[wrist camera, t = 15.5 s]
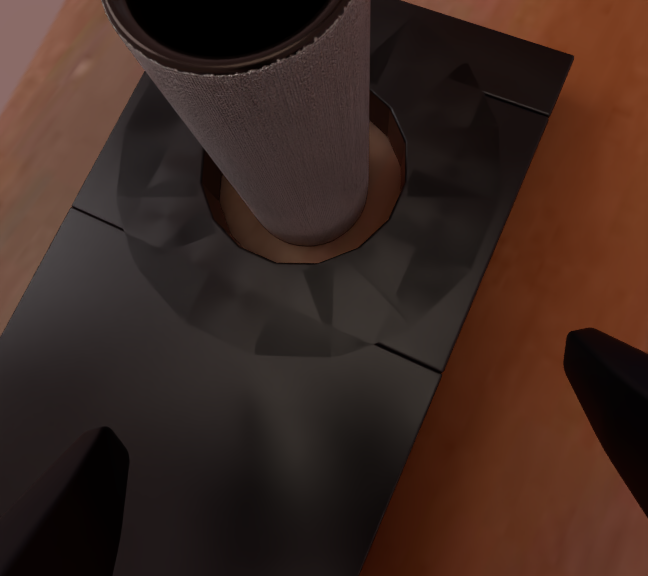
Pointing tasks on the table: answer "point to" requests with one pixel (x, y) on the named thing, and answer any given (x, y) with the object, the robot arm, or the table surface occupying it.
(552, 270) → the table surface
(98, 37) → the table surface
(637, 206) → the table surface
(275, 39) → the planter
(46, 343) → the plant stand
